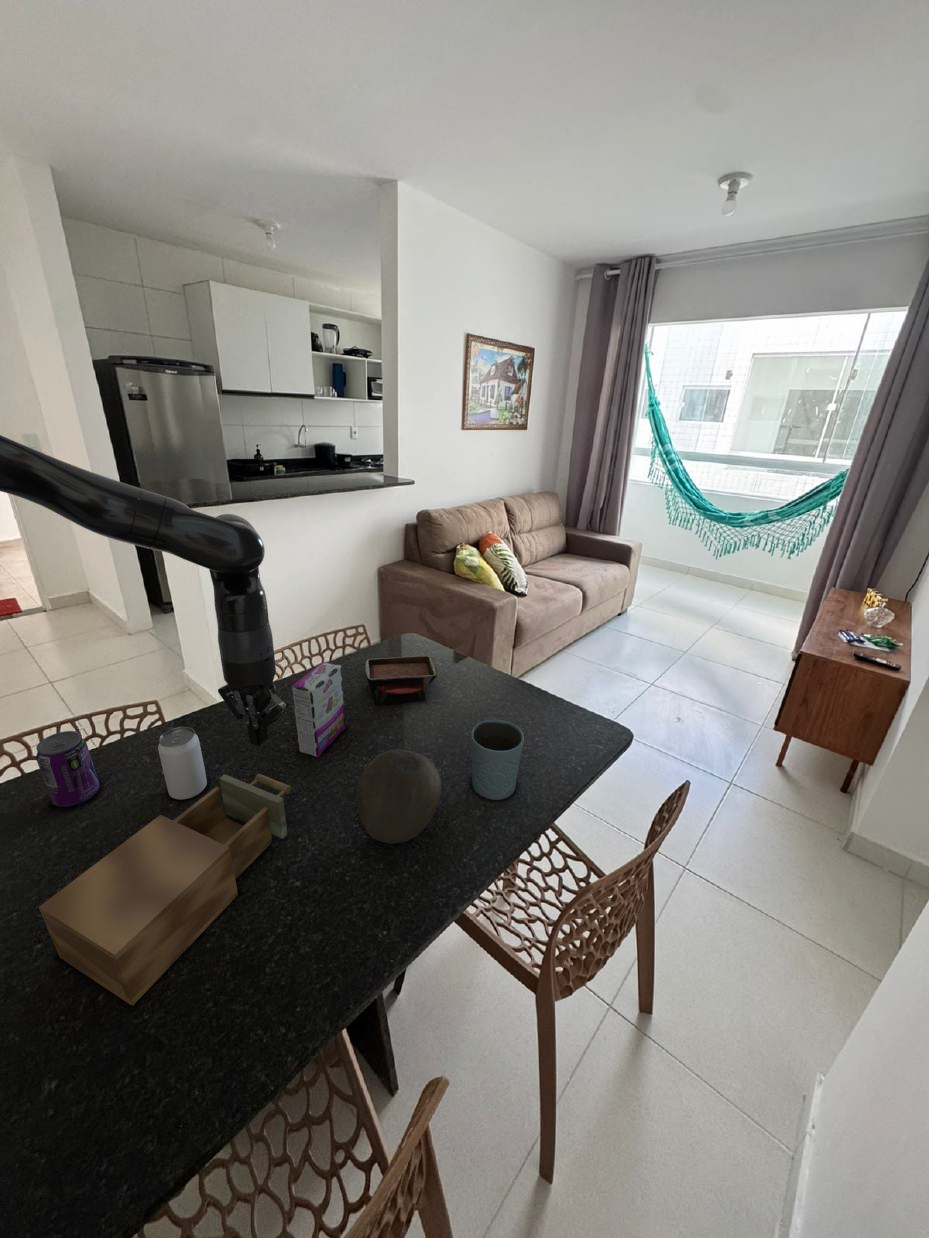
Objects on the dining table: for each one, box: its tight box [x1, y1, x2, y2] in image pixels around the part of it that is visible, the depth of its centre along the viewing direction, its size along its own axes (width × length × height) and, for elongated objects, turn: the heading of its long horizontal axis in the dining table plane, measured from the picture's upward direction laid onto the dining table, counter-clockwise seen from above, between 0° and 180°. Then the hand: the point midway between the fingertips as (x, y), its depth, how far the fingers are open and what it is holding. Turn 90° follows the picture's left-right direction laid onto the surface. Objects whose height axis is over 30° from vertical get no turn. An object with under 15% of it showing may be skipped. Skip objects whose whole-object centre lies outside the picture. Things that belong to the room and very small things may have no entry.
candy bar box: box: [291, 661, 347, 758], centre depth 108 cm, size 11×5×16 cm, turn 161°
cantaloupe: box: [355, 748, 443, 845], centre depth 87 cm, size 14×14×15 cm
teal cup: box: [470, 719, 525, 801], centre depth 99 cm, size 10×10×12 cm
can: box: [157, 726, 208, 801], centre depth 93 cm, size 6×6×12 cm
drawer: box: [172, 773, 292, 881], centre depth 82 cm, size 20×13×8 cm, turn 157°
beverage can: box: [35, 730, 100, 808], centre depth 90 cm, size 7×7×12 cm
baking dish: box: [363, 654, 438, 706], centre depth 129 cm, size 14×18×10 cm
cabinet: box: [38, 814, 239, 1007], centre depth 70 cm, size 17×14×10 cm
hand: (259, 742), depth 84 cm, fingers closed
